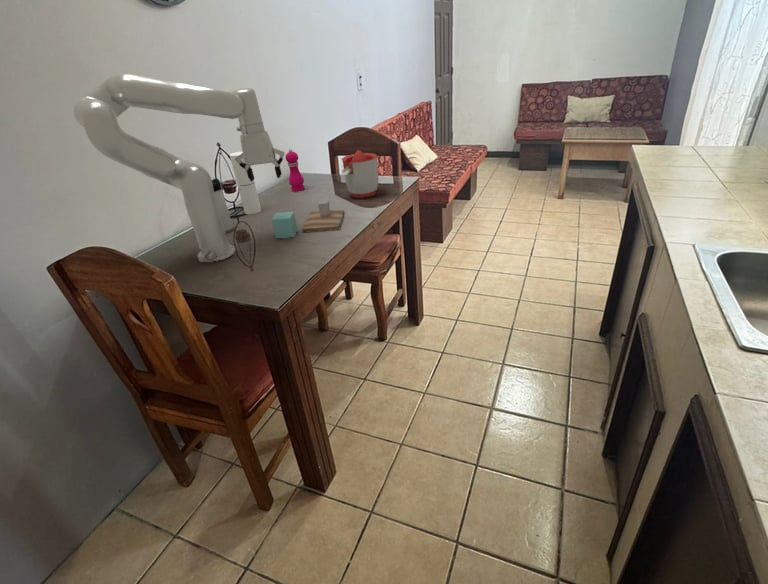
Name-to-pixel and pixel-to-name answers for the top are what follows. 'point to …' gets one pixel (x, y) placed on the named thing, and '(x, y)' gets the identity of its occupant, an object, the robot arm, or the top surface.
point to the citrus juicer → (361, 174)
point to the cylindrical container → (245, 187)
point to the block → (324, 208)
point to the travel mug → (222, 206)
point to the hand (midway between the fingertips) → (265, 178)
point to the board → (323, 221)
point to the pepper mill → (294, 172)
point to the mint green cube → (284, 225)
